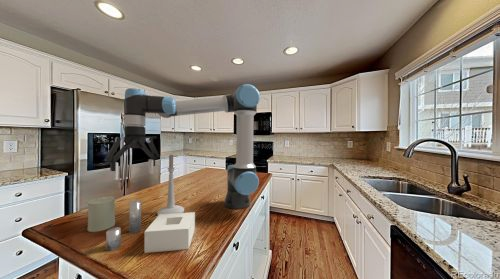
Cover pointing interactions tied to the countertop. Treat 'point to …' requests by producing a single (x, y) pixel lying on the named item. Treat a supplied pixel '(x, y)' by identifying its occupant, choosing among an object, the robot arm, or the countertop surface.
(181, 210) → the candlestick
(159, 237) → the hole block
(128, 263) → the countertop surface
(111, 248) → the short pin
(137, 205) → the long pin
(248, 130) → the robot arm
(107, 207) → the can
